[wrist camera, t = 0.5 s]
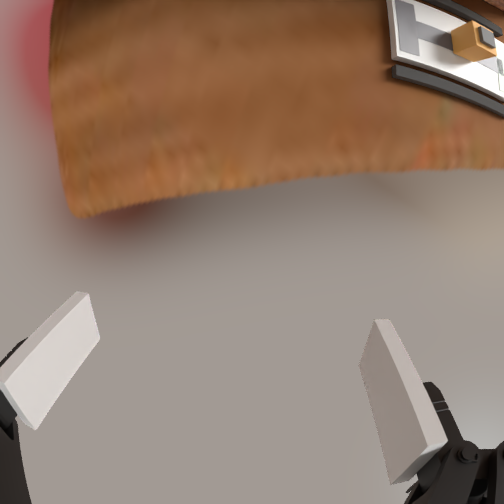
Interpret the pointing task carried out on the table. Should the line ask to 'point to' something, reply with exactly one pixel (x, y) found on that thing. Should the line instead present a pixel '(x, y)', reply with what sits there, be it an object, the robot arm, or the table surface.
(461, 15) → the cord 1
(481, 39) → the lever
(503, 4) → the book
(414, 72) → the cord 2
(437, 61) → the panel
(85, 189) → the table surface
